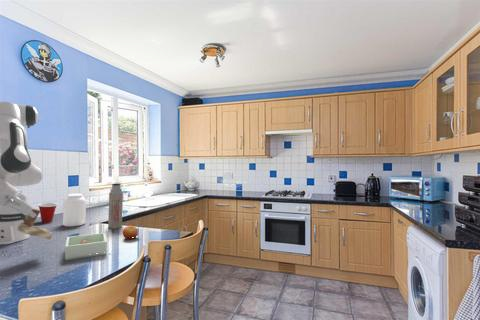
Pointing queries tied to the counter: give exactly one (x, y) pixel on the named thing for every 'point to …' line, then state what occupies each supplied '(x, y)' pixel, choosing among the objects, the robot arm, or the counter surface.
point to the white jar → (74, 210)
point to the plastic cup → (47, 211)
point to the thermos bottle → (115, 207)
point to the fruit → (130, 232)
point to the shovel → (33, 227)
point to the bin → (85, 246)
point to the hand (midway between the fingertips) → (33, 215)
